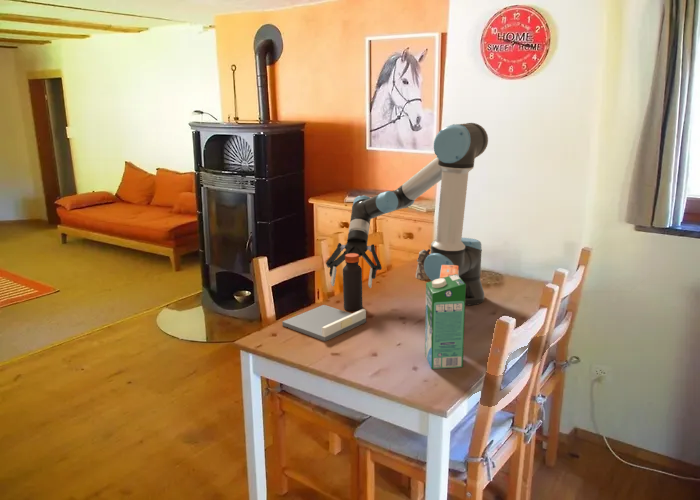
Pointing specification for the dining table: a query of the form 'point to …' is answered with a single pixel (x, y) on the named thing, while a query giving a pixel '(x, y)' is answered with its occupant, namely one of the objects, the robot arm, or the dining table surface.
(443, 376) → the dining table surface
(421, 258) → the figurine
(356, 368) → the dining table surface
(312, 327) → the grey flat square slab
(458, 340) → the milk carton
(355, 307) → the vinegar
